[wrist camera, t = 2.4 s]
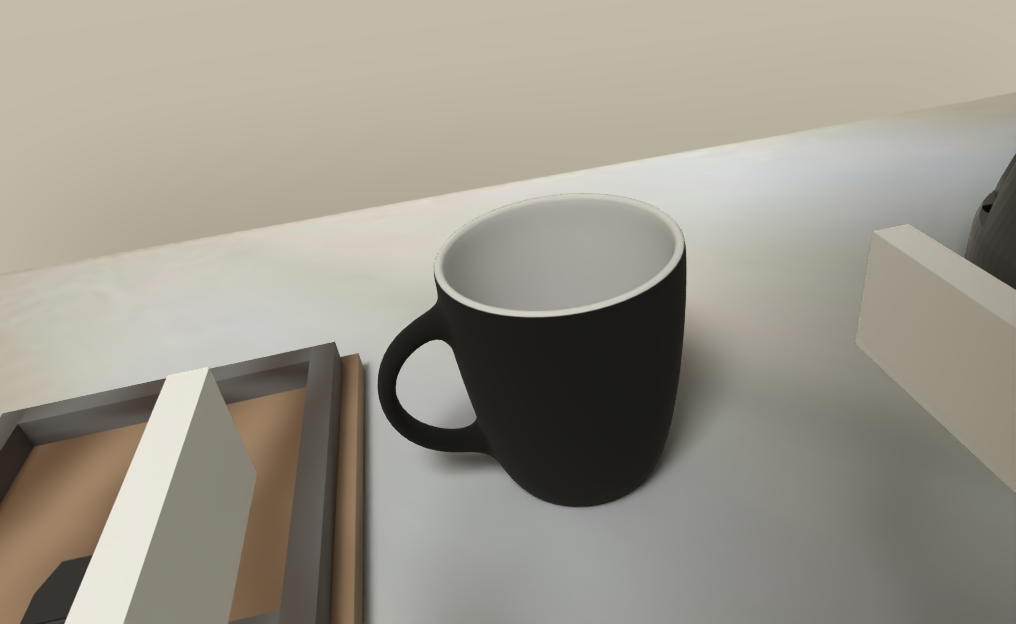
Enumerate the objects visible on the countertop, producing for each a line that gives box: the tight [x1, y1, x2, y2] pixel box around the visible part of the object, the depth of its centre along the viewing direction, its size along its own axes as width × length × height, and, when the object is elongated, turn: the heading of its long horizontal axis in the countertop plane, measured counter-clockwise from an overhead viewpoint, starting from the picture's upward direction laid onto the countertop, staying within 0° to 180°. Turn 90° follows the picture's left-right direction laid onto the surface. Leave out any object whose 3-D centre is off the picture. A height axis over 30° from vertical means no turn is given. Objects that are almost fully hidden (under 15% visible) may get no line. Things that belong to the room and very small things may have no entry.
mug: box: [378, 193, 686, 506], centre depth 28 cm, size 12×9×10 cm
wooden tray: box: [0, 342, 364, 624], centre depth 29 cm, size 18×18×3 cm
